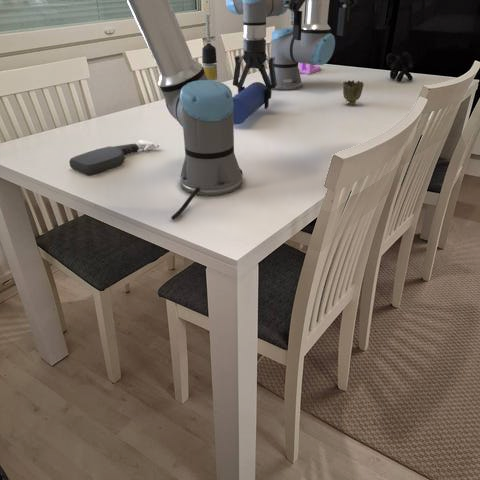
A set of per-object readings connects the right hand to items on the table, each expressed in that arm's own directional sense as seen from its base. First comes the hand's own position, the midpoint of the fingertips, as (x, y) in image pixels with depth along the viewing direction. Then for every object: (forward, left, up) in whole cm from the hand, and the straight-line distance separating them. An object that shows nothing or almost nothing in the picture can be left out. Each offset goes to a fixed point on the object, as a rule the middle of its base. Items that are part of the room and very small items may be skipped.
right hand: (254, 106), depth 161 cm
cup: (-12, +35, -2) cm, 37 cm away
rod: (+8, -2, 0) cm, 8 cm away
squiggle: (-55, +60, -2) cm, 81 cm away
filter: (-17, -19, -2) cm, 26 cm away
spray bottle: (+49, -33, -2) cm, 59 cm away
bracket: (-72, +20, -2) cm, 74 cm away
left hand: (+34, +21, +28) cm, 48 cm away
